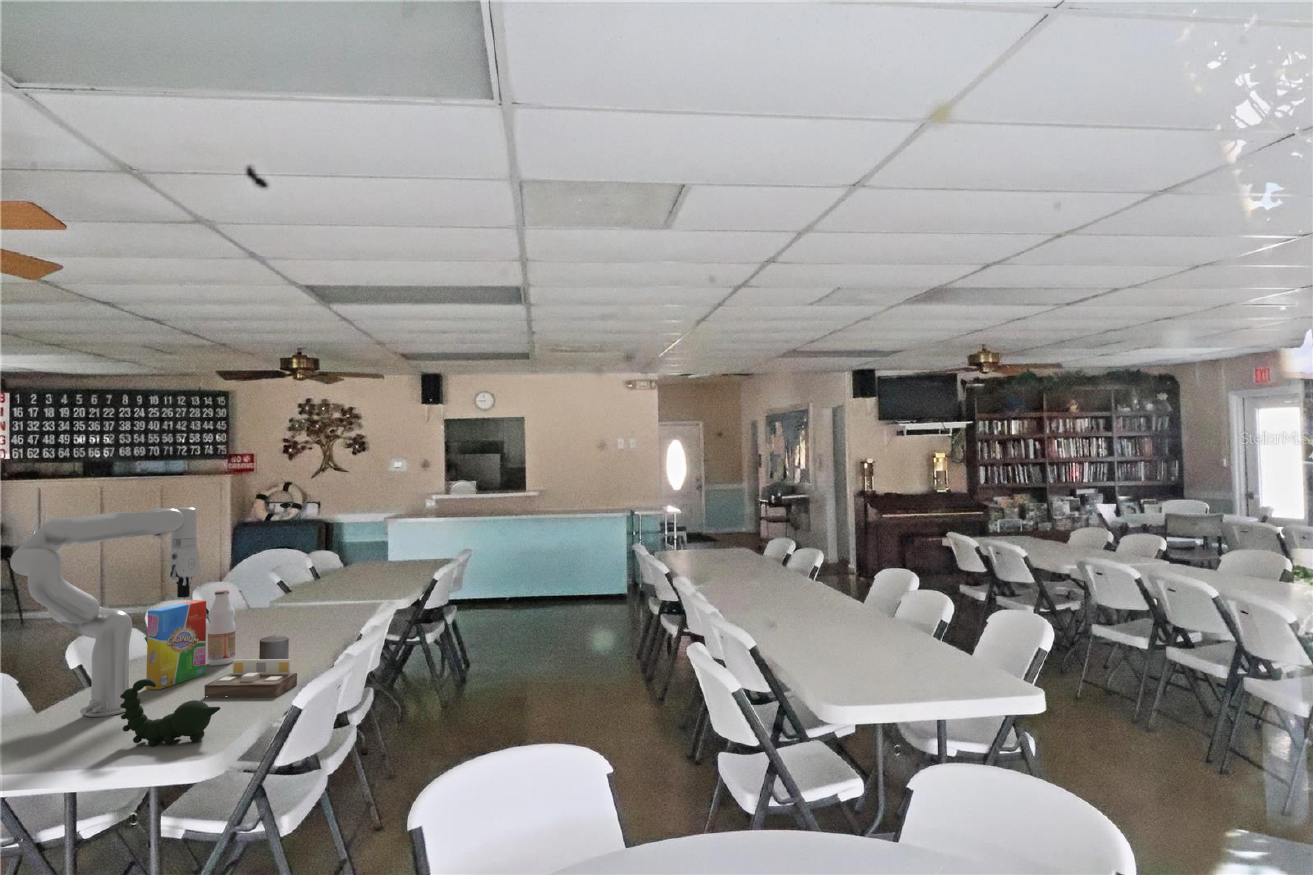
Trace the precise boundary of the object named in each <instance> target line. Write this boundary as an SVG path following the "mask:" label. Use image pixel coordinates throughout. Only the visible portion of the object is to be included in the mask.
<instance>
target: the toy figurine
mask: <svg viewBox="0 0 1313 875" xmlns="http://www.w3.org/2000/svg"><path fill="white" fill-rule="evenodd" d="M146 686H152V687H156V684H155V683H154V682H153V681H152V680H149V679H146V678H144V679H142V678H141V679H139V680H137V681H136V682H134V683H133V685H132V687H130V688H129V689H127V690H126V691H125V692H124V693H123V694H121V696H120V698H122V699H123V698H124V700H125V701H124V703H122V704H121V705H120V707H121V708H125V709H126V712H124V713H121V716H120V718H121V720H127V724H125V725H124V726H123V727H122V731H123V732H126V733H127V732H129V731H133V732H134V733H135V736H134V737H132V742H133V743H134V744H139V743H140V742H142V741H143V740H146V741H147V744H148V746H149V747H151V746H152V747H155V746H156V745H157V743H159V742H163V743H164V744H165V745H171V744H172V743H174V742H175V739H179V738H181V737H189V739H190V740H189V741H191V742H193V743H197V742H200V741H201V740H202V739H203V738H204V736H205V731H204V730H205V729H207V727H208V726H209V724H210V722H211V718H212V716H214V714H216V713H217V712H218V711H220V710H221V707H220V706H209V705H208V704H207V703H206V702H203V701H202V700H196V699H194V700H193V699H192V700H187V701H185V702H183V703H182V704H180V705H179V706H178V707H177V708H176V709H175V710H174V711H173V713H170V714H167V715H165V716H164V717H163V718H156V719H154V720H153V719H149V718H148V716H147V715H146V714H145V713H144V708H143V707H142V706H141V703H142V702H141V698H140V697H139V696H138V695H139V692H140V691H141V690H142V689H144V688H146ZM155 744H156V745H155ZM154 745H155V746H154Z"/></svg>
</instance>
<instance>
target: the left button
mask: <svg viewBox="0 0 1313 875" xmlns="http://www.w3.org/2000/svg"><path fill="white" fill-rule="evenodd" d="M220 678H221V677H220ZM218 679H219V678H218ZM235 679H236V677H224V678H221V679H219V680H218V682H231V681H233V680H235Z"/></svg>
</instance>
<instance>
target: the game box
mask: <svg viewBox="0 0 1313 875" xmlns="http://www.w3.org/2000/svg"><path fill="white" fill-rule="evenodd" d="M146 635H147V641H146V642H147V643H146V644H147V645H146V646H147V647H146V648H147V649H146V676H145V677H146V678H145V679H149V680H152V681H153V682H154V683H155V684H156V687H152V686H145V689H146V690H162V689H165V688H167V687H170V686H174V685H176V684H180V683H182V682H186V681H189V680H191V678H192V679H195V678H196V677H200V676H203V675H206V660H207V658H206V655H207V654H206V653H207V652H206V650H207V648H206V644H207V641H206V638H207V600H200V599H199V600H197V599H195V600H194V599H193V600H190V601H185V602H182V603H178V604H173V605H169V606H168V605H167V606H163V607H157V608H153V609H149V610H147V633H146ZM188 679H189V680H188ZM179 682H180V683H179Z"/></svg>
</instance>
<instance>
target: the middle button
mask: <svg viewBox="0 0 1313 875" xmlns="http://www.w3.org/2000/svg"><path fill="white" fill-rule="evenodd" d="M258 679H259V673H247V674H245V675H243V676H241V682H254V681H256V680H258Z"/></svg>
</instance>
